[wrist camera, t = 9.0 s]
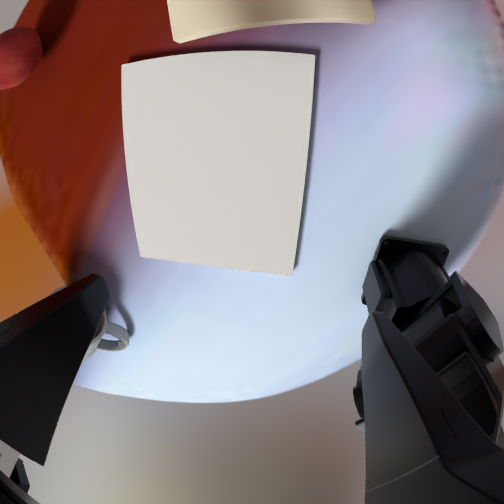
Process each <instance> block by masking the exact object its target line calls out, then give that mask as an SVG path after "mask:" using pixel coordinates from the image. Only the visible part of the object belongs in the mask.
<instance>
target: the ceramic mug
mask: <svg viewBox="0 0 504 504" xmlns="http://www.w3.org/2000/svg"><path fill="white" fill-rule="evenodd" d="M67 286H69V285H66V286H63V287H61V288H58V289H57V290H55V291H54V292H53V293H55V292H57V291H59V290H61V289H63V288H65V287H67ZM53 293H52V294H53ZM52 294H51V295H52ZM104 333H106V334H110V335H112V336H116V337H118V338H120V340H118V341H113V340H105V339H101V338H102V336H103V334H104ZM128 344H129V333H128V331H127V330H126V329H125V328H123V327H122V326H120V325H118V324H115V323H112V322H109V321H107V314H106V311H105V310H104V313H103V315H102V318H101V320H100V323H99V325H98V328H97V331H96V333H95V335H94V337H93V340H92V342H91V344H90V346H89V348H88V350H87V352H86V354H85V356H84V359H83V361H85V360H87V359H89V358H90V357H91V356H92V355H93V354H94V352H95V351H96V349H101V350H107V351H120V350H123V349H125V348H126V347H127V346H128ZM83 361H82V362H83Z"/></svg>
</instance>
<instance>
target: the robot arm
mask: <svg viewBox="0 0 504 504" xmlns="http://www.w3.org/2000/svg"><path fill="white" fill-rule="evenodd" d="M385 242H388V244H386V245H384V243H385ZM444 250H445V251H444ZM442 251H444V252H443V253H442ZM448 254H449V249H448V248H447V246H446V245H442V244H436V243H429V242H423V241H417V240H410V239H404V238H397V237H390V236H384V237H382V238H381V239H380V241H379V245H378V248H377V252H376V255H375V258H374V260H373V261H372V262H371V263H370V265H369V268H368V271H367V275H366V278H365V281H364V284H363V294H362V297H361V300H362V303H363V304H364V305H367V308H368V312H369V316H368V319H367V321H366V323H365V326H364V328H363V331H362V365H361V367H360V369H359V371H358V377H357V385H356V386H355V387H354V388H353V396H354V402H355V405H356V408H357V411H358V413H359V416H360V417H361V419H359V420H357V421H356V422H355V424H356V426H357V427H358V428H359V429H360V431H362V433H363V434H364V435H365V441H366V486H365V487H366V488H365V491H366V492H365V504H504V432H503V429H502V426H501V422H502V416H503V409H504V366H503V364H502V362H501V360H500V358H499V355H500V354H501V353H502V352H503V345H502V339H501V334H500V330H499V326H498V322H497V320H496V318H495V317H494V315H493V314H492V312H491V310H490V309H489V307H488V306H487V304H486V303H485V301H484V300H483V299H482V297H481V296H480V295H479V294H478V293H477V292H476V291H475V290H474V289H473V288H472V287H471V286H470V285H469V284H468V283H467V282H466V281H465V280H464V279H463V278H462V277H461V276H460V275H459V274H458V273H457V272H456V271H455V272H454V273H453V274H452V275H451V276H450V277H449V275H448V274H447V272H446V270H445V269H444V267H443V266H444V264H445V261H446V259H447V256H448ZM109 296H110V294H109V290H108V287H107V284H106V281H105V278H104V276H103V275H100V274H95V273H94V274H91V275H89V276H87V277H85V278H83V279H81V280H79V281H77V282H75V283H73V284H71V285H69V286H67V287H65V288H63V289H61V290H59V291H57V292H55V293H53V294H52V295H50V296H48V297H46V298H44V299H42V300H40V301H39V302H37V303H35V304H33V305H31V306H30V307H27V308H26V309H24V310H22V311H20V312H19V313H18V314H15V315H13V316H11V317H10V318H8V319H6V320H4V321H2V322H0V504H40V503H38V502H37V501H36V500H34V499H33V498H32V497H31V496H29V495H28V494H27V493H28V490H29V487H30V485H29V482H28V478H27V475H26V472H25V468H24V464H23V461H22V460H21V459H20V458H19V455H20V453H21V454H22V455H24V456H26V457H27V458H29V459H30V460H32V461H34V462H36V463H37V464H39V465H41V466H44V464H45V461H46V457H47V454H48V450H49V447H50V444H51V441H52V438H53V435H54V432H55V429H56V426H57V422H58V420H59V417H60V414H61V412H62V409H63V406H64V404H65V401H66V399H67V396H68V394H69V391H70V388H71V386H72V384H73V381H74V379H75V377H76V374H77V372H78V370H79V368H80V365H81V363H82V361H83V359H84V356H85V354H86V352H87V350H88V348H89V346H90V344H91V342H92V340H93V337H94V335H95V333H96V331H97V328H98V325H99V323H100V320H101V318H102V315H103V313H104V310H105V308H106V305H107V303H108V300H109ZM365 299H366V300H365Z"/></svg>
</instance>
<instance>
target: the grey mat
mask: <svg viewBox="0 0 504 504" xmlns="http://www.w3.org/2000/svg"><path fill="white" fill-rule="evenodd" d="M314 68H315V55H311V54H302V53H290V52H274V51H218V52H203V53H191V54H182V55H174V56H167V57H160V58H154V59H148V60H143V61H138V62H133V63H128V64H124V65H122V117H123V134H124V147H125V158H126V168H127V177H128V185H129V192H130V200H131V206H132V213H133V219H134V225H135V231H136V236H137V241H138V247H139V252H140V257H147V258H154V259H161V260H168V261H176V262H183V263H191V264H198V265H206V266H214V267H222V268H230V269H238V270H246V271H254V272H263V273H271V274H280V275H289V276H292V274H293V268H294V261H295V254H296V247H297V240H298V233H299V225H300V217H301V209H302V201H303V193H304V184H305V175H306V166H307V156H308V146H309V136H310V124H311V112H312V99H313V85H314Z"/></svg>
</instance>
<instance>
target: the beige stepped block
mask: <svg viewBox="0 0 504 504" xmlns="http://www.w3.org/2000/svg"><path fill="white" fill-rule="evenodd" d="M167 3H168V10H169V16H170V23H171V29H172V35H173V41H176V42H178V43H183V42H187V41H190V40H194V39H198V38H202V37H206V36H211V35H215V34H220V33H225V32H230V31H235V30H241V29H247V28H254V27H262V26H270V25H280V24H294V23H356V24H369V25H370V24H371V23H373V22H374V21H376V19H375V14H374V10H373V6H372V2H371V0H167Z"/></svg>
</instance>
